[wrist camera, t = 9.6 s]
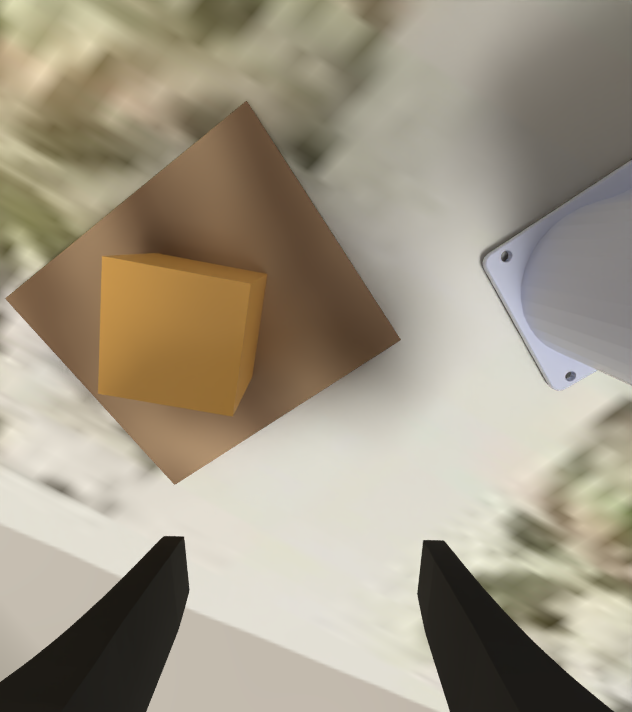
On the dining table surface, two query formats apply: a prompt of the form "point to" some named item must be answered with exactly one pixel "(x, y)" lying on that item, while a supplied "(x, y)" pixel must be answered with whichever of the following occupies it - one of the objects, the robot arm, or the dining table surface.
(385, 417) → the dining table surface
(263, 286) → the mustard tilted cube
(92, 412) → the dining table surface
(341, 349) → the brown flat block
